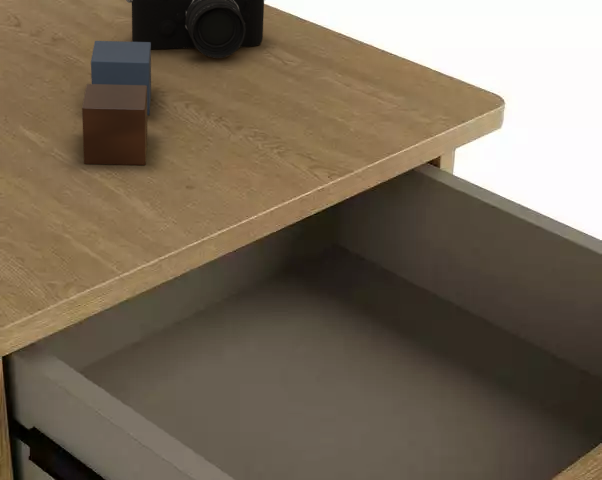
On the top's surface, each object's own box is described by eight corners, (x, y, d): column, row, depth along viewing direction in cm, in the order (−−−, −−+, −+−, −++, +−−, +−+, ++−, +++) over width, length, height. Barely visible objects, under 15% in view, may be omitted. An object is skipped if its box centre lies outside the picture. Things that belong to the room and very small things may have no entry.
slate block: (92, 114, 115) (90, 61, 112) (96, 92, 119) (94, 40, 116) (149, 115, 115) (149, 62, 113) (151, 93, 119) (150, 42, 117)
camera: (131, 65, 125) (130, -16, 121) (124, 38, 131) (123, -40, 127) (277, 61, 128) (280, -19, 124) (263, 35, 134) (266, -42, 130)
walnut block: (84, 164, 106) (81, 107, 104) (88, 138, 110) (86, 83, 108) (145, 165, 107) (144, 109, 104) (147, 139, 111) (147, 84, 108)
